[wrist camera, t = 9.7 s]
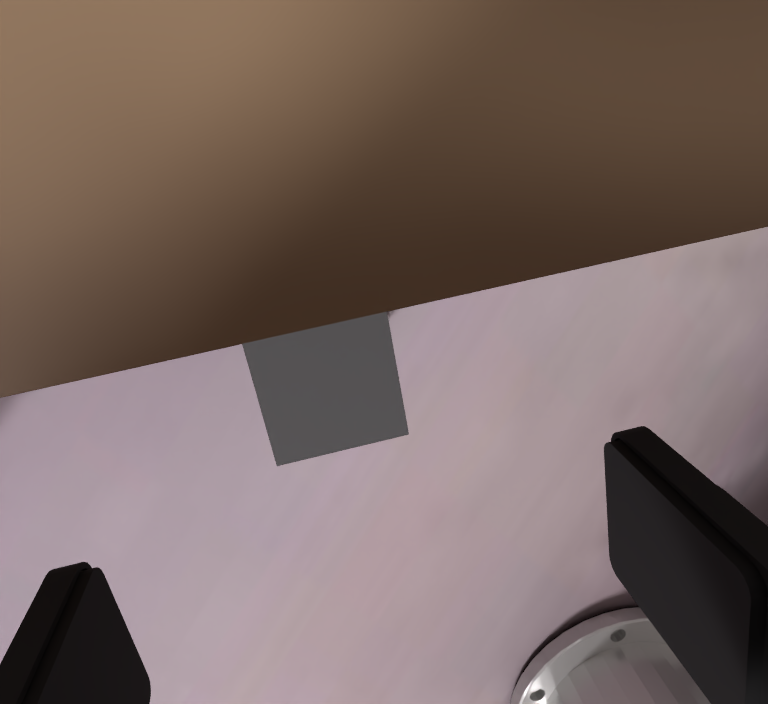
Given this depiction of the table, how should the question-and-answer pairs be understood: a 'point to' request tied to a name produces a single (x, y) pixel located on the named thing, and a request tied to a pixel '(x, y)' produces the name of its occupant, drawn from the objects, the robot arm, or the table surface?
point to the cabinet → (348, 160)
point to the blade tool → (328, 388)
